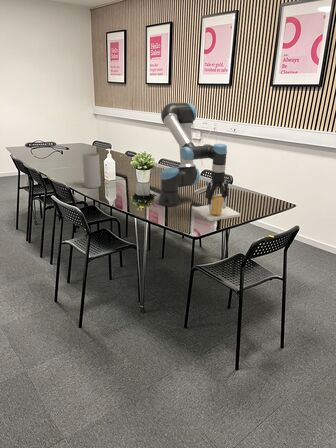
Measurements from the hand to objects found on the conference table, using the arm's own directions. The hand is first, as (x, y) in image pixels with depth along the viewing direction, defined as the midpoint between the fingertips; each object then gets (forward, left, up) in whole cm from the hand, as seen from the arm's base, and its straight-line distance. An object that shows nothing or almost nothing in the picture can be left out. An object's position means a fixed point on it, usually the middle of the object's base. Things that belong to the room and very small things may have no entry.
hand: (215, 208), depth 204 cm
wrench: (-50, +25, -6) cm, 56 cm away
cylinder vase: (-95, -54, -6) cm, 109 cm away
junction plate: (-6, +4, -6) cm, 9 cm away
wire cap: (0, 0, -3) cm, 3 cm away
